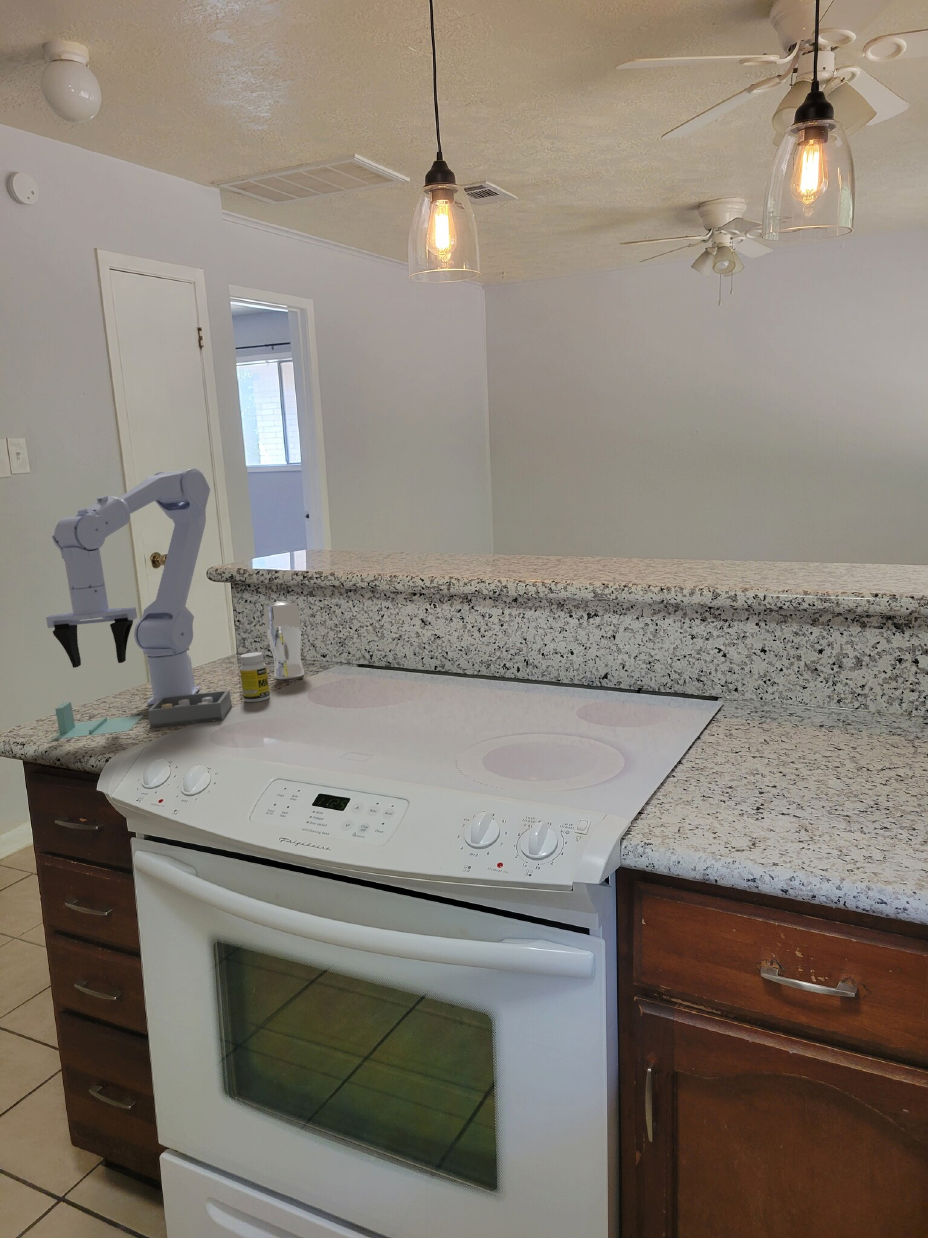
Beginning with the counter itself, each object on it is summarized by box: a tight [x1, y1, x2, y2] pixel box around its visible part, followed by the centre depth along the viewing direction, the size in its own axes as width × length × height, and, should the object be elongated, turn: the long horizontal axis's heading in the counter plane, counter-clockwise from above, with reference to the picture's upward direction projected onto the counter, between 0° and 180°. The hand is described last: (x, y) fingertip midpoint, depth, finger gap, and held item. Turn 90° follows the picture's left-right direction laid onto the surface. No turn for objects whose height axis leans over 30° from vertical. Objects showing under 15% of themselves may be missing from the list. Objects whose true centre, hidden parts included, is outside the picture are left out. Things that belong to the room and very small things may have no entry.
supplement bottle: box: [239, 651, 271, 703], centre depth 161 cm, size 5×5×8 cm
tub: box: [147, 690, 233, 729], centre depth 153 cm, size 9×12×3 cm
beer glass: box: [263, 599, 305, 681], centre depth 178 cm, size 7×7×15 cm
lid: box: [50, 701, 144, 740], centre depth 152 cm, size 10×13×5 cm
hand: (99, 664), depth 153 cm, fingers open, 7 cm apart
